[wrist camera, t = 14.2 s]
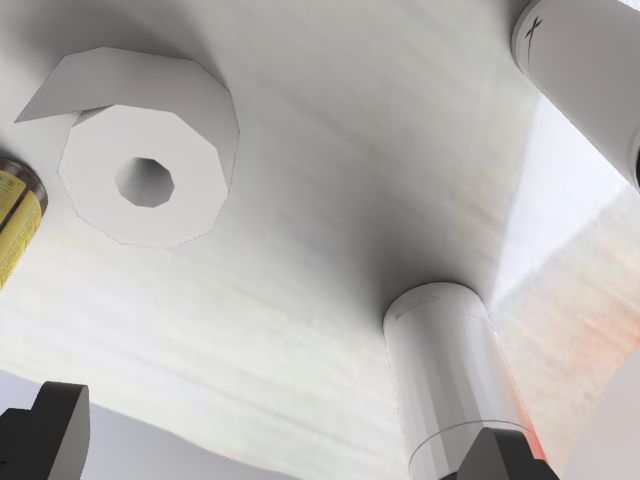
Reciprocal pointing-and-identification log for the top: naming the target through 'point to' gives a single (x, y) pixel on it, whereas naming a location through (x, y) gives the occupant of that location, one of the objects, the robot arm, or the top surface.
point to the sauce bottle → (18, 213)
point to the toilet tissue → (142, 143)
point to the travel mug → (587, 71)
